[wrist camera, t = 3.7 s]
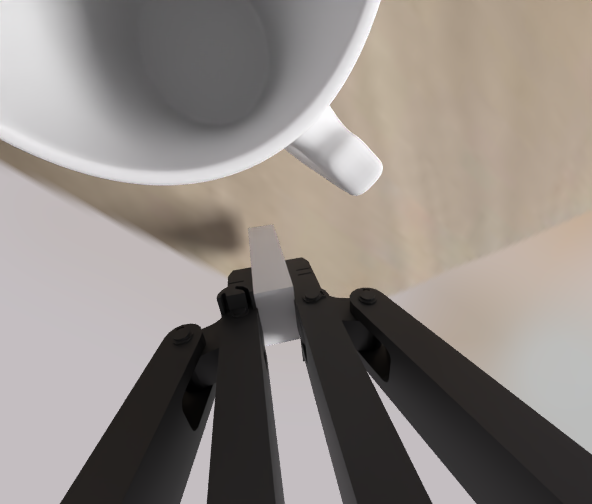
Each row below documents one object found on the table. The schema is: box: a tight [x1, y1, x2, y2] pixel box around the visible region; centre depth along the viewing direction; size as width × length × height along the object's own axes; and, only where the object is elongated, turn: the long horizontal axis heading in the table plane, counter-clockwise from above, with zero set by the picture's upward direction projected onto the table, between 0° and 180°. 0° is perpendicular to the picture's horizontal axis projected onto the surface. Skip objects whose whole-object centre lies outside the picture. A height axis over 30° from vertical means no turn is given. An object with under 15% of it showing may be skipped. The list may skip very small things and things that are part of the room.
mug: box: [0, 0, 383, 196], centre depth 9 cm, size 10×7×12 cm, turn 46°
